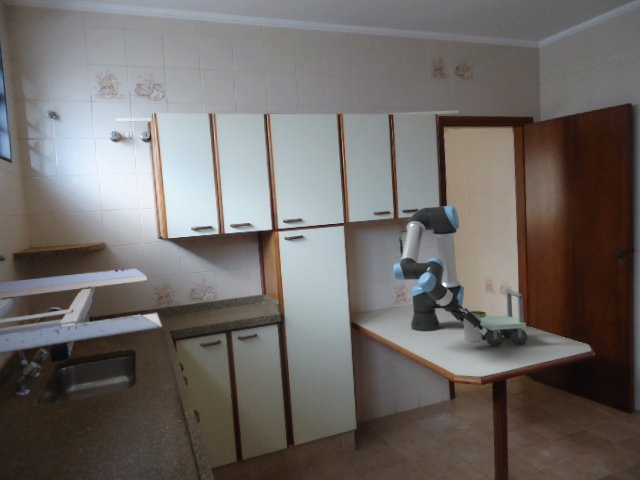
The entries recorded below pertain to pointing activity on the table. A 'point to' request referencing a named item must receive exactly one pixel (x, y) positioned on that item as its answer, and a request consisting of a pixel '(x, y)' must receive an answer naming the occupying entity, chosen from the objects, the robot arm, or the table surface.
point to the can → (472, 331)
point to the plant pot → (481, 314)
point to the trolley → (506, 324)
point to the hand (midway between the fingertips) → (479, 330)
